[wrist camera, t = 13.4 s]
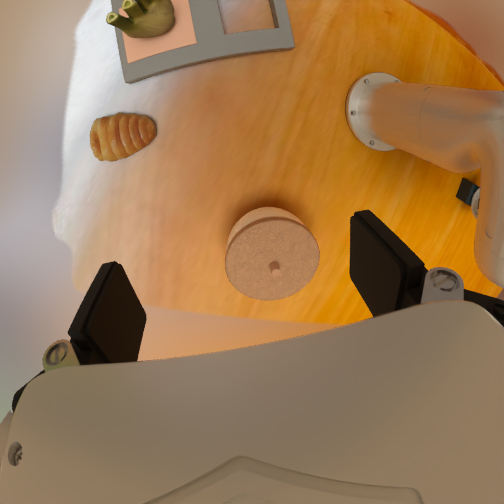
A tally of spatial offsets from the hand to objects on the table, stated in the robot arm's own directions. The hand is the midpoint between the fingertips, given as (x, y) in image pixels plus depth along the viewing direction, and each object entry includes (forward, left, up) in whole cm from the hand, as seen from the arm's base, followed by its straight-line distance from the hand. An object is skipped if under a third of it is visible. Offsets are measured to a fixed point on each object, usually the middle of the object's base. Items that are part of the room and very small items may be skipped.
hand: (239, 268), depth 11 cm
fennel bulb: (+6, -19, -28) cm, 34 cm away
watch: (-46, +14, -31) cm, 57 cm away
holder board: (0, -19, -30) cm, 36 cm away
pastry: (+14, -5, -31) cm, 34 cm away
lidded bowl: (-3, +15, -31) cm, 34 cm away
